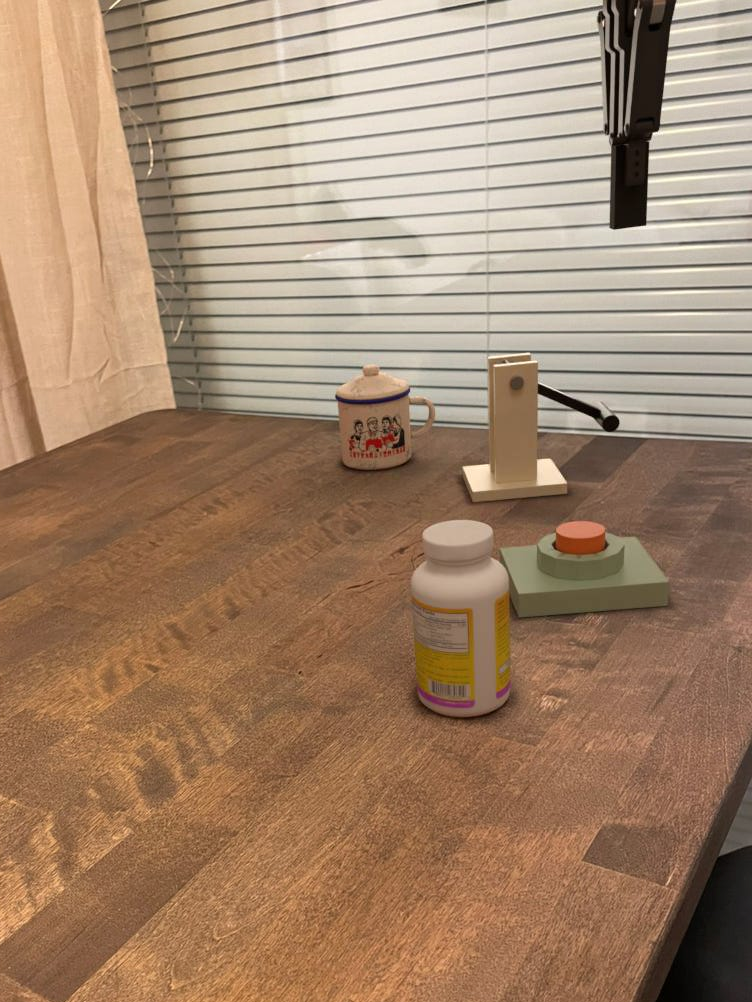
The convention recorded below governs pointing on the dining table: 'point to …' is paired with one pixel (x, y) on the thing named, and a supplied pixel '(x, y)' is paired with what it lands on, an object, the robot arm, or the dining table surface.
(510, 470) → the lever stand
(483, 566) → the supplement bottle
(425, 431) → the teacup with lid
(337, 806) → the dining table surface
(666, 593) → the button box
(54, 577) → the dining table surface
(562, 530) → the button
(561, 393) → the black lever
